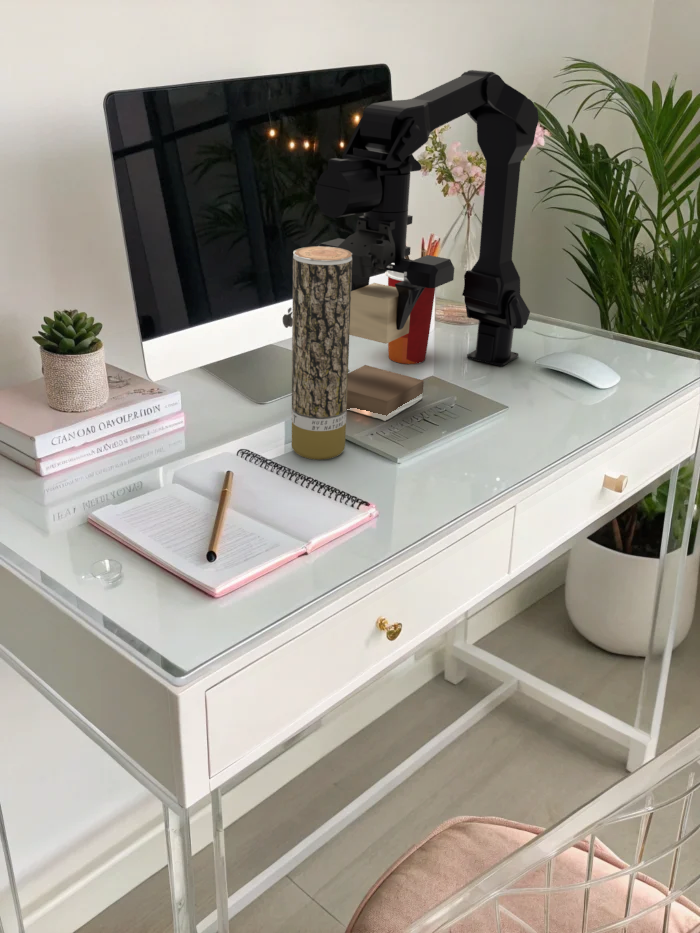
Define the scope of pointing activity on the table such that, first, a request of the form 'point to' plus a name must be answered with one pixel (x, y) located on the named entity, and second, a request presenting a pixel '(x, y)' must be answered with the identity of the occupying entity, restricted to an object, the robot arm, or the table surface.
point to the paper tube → (320, 350)
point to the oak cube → (375, 313)
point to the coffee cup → (412, 327)
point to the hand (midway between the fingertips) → (379, 324)
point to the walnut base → (380, 390)
